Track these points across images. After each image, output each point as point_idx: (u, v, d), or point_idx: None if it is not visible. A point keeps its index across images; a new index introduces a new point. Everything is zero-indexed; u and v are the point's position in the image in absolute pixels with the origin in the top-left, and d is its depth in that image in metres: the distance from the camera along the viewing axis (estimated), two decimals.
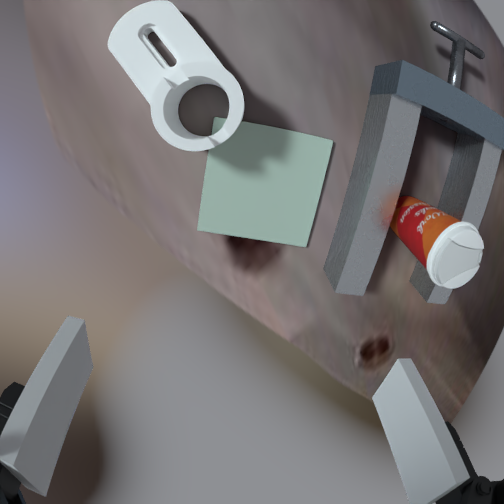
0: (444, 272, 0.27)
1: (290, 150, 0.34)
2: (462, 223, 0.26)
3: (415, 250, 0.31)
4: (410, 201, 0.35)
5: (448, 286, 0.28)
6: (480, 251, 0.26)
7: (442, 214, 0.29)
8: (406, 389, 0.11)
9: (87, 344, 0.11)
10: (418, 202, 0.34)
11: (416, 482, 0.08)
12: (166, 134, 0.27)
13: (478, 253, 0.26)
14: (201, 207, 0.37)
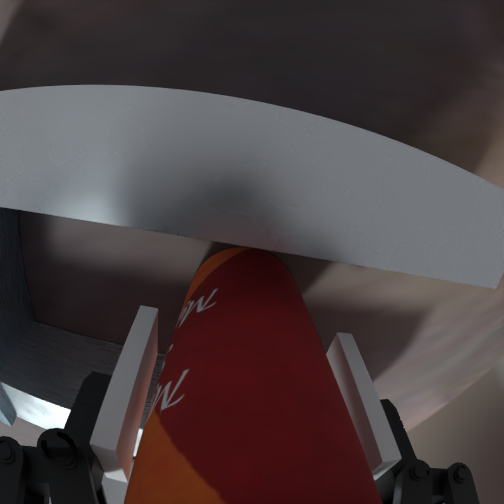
0: None
1: None
2: None
3: None
4: None
5: None
6: None
7: None
8: (342, 361, 0.12)
9: (156, 332, 0.12)
10: None
11: None
12: None
13: None
14: None
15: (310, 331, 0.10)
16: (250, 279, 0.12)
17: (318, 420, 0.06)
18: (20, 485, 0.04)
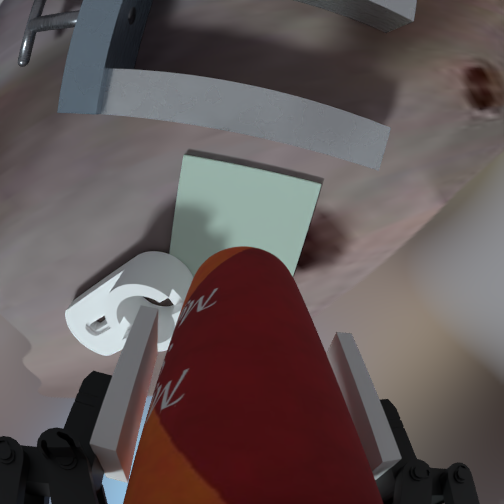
0: None
1: (198, 204, 0.31)
2: None
3: None
4: None
5: None
6: None
7: None
8: (342, 362, 0.12)
9: (156, 332, 0.12)
10: None
11: None
12: None
13: None
14: None
15: (310, 330, 0.10)
16: (250, 278, 0.12)
17: (318, 419, 0.06)
18: (20, 485, 0.04)
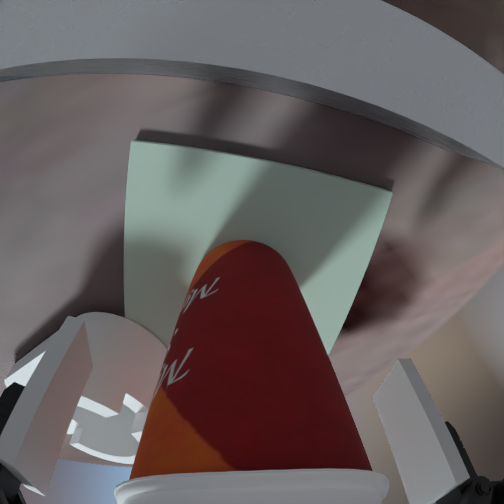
0: None
1: (164, 235, 0.16)
2: None
3: None
4: None
5: None
6: None
7: None
8: (406, 389, 0.11)
9: (87, 344, 0.11)
10: None
11: (416, 482, 0.08)
12: None
13: None
14: None
15: (306, 316, 0.11)
16: (250, 268, 0.13)
17: (311, 392, 0.07)
18: None
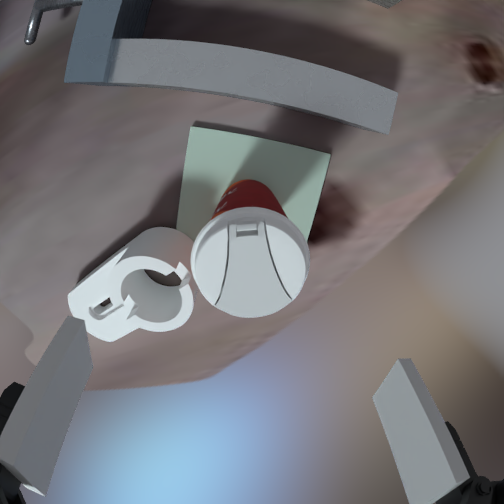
0: (269, 303, 0.20)
1: (205, 176, 0.30)
2: (193, 270, 0.20)
3: None
4: None
5: (298, 286, 0.19)
6: (233, 232, 0.18)
7: None
8: (406, 389, 0.11)
9: (87, 344, 0.11)
10: None
11: (416, 482, 0.08)
12: (178, 322, 0.29)
13: (237, 238, 0.18)
14: None
15: (276, 201, 0.25)
16: (251, 185, 0.27)
17: (273, 207, 0.21)
18: None
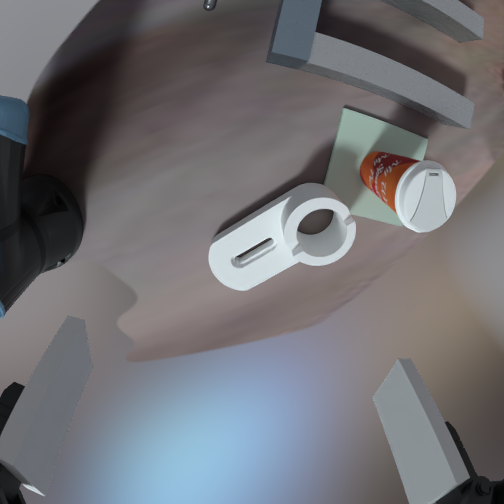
0: (437, 221, 0.28)
1: (351, 146, 0.38)
2: (396, 198, 0.28)
3: None
4: (366, 181, 0.37)
5: (451, 210, 0.27)
6: (428, 173, 0.25)
7: (384, 189, 0.31)
8: (406, 389, 0.11)
9: (87, 344, 0.11)
10: (368, 179, 0.36)
11: (416, 482, 0.08)
12: (338, 255, 0.37)
13: (429, 176, 0.26)
14: (386, 221, 0.43)
15: None
16: None
17: None
18: None
